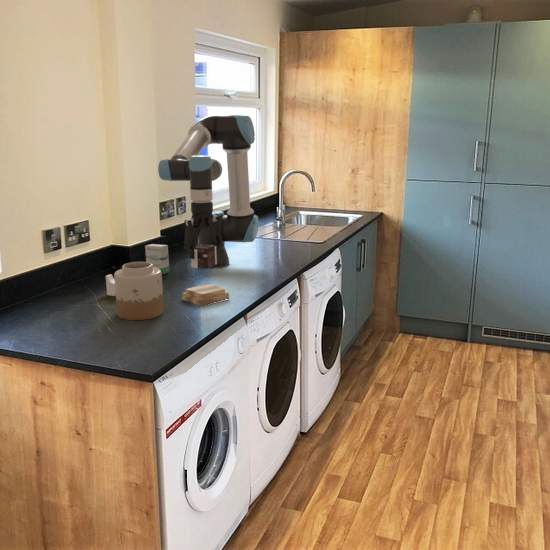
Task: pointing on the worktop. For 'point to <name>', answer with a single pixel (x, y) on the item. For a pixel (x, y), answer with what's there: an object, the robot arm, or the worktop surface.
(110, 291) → the bracket
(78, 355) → the worktop surface
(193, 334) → the worktop surface
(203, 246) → the box
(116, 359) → the worktop surface
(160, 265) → the ink box
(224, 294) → the plinth
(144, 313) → the vase
